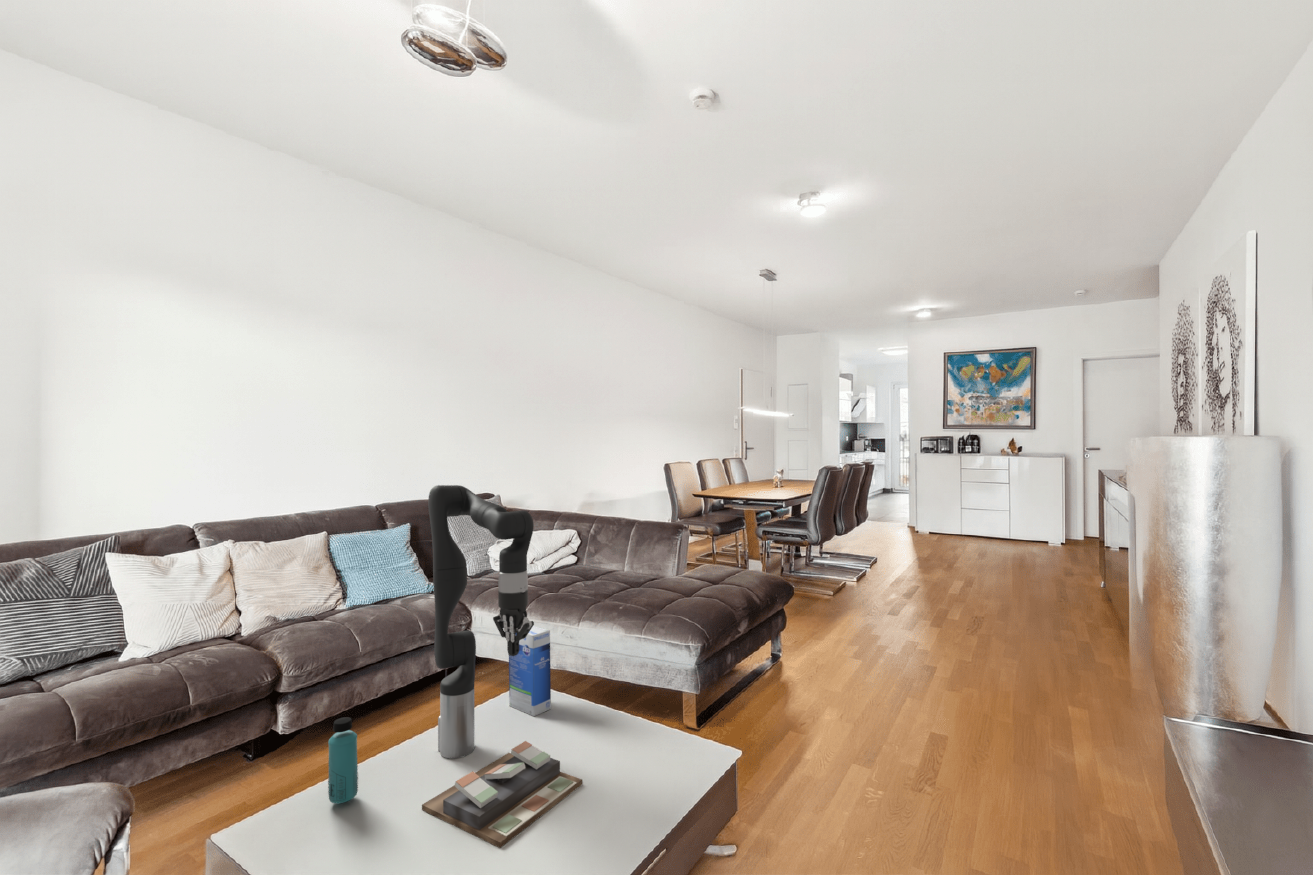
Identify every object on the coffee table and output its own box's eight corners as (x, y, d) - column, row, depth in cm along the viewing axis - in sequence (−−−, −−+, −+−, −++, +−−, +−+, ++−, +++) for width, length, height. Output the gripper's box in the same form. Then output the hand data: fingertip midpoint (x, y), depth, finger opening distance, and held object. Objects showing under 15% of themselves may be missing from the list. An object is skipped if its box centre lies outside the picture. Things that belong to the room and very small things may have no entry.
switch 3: (510, 753, 154) (511, 748, 154) (524, 745, 159) (525, 740, 159) (536, 769, 150) (537, 764, 150) (549, 760, 154) (550, 755, 154)
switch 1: (454, 785, 139) (455, 780, 139) (471, 775, 143) (472, 770, 143) (480, 808, 134) (481, 802, 134) (497, 797, 139) (498, 791, 139)
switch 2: (485, 779, 146) (484, 773, 147) (500, 769, 151) (499, 764, 151) (510, 777, 142) (509, 771, 142) (525, 767, 146) (524, 762, 147)
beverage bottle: (364, 797, 147) (364, 715, 147) (342, 812, 140) (342, 727, 140) (343, 792, 149) (344, 711, 149) (321, 807, 142) (321, 723, 143)
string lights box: (551, 709, 195) (551, 630, 195) (533, 717, 189) (533, 635, 189) (525, 698, 203) (525, 622, 204) (507, 706, 197) (507, 628, 198)
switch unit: (421, 809, 141) (421, 787, 141) (508, 756, 165) (508, 737, 165) (500, 847, 128) (500, 823, 128) (582, 784, 152) (582, 763, 152)
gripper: (484, 588, 155) (484, 654, 155) (521, 594, 148) (521, 664, 148) (505, 582, 162) (505, 646, 161) (542, 588, 155) (542, 655, 155)
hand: (513, 654), depth 155 cm, fingers closed
